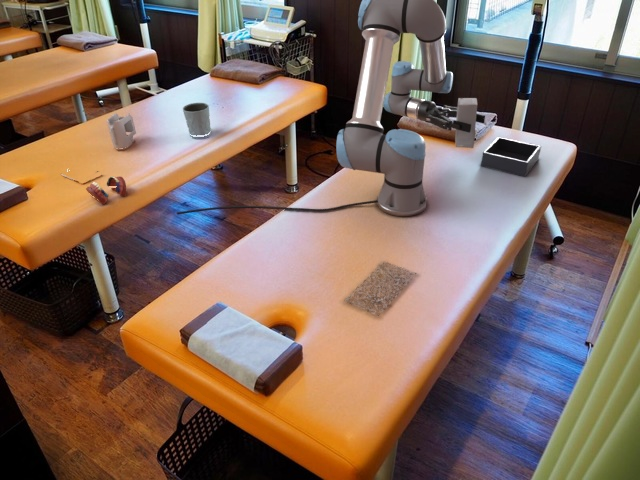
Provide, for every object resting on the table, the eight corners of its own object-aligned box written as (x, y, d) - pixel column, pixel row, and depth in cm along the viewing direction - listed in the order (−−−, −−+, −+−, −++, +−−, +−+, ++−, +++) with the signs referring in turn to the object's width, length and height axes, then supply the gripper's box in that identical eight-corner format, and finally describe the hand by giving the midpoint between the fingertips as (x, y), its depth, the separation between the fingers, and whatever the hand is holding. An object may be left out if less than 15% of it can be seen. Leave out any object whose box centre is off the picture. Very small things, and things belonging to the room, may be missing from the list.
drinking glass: (217, 133, 219) (213, 105, 212) (200, 142, 212) (196, 113, 205) (199, 128, 224) (195, 100, 217) (182, 137, 217) (177, 108, 210)
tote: (524, 176, 182) (528, 162, 179) (480, 166, 189) (482, 152, 186) (538, 159, 192) (541, 146, 189) (495, 150, 200) (498, 136, 196)
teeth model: (126, 176, 175) (92, 190, 168) (131, 193, 179) (97, 207, 172) (114, 169, 180) (80, 182, 174) (119, 186, 184) (86, 199, 177)
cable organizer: (139, 139, 216) (132, 111, 209) (124, 152, 206) (117, 123, 199) (124, 138, 217) (117, 110, 210) (108, 151, 207) (100, 122, 200)
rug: (343, 302, 130) (343, 299, 130) (383, 262, 143) (383, 259, 143) (378, 317, 126) (378, 314, 125) (416, 274, 139) (416, 271, 138)
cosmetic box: (473, 148, 189) (480, 105, 180) (452, 147, 190) (458, 104, 181) (472, 139, 196) (479, 97, 187) (452, 138, 197) (458, 96, 188)
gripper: (436, 111, 207) (490, 124, 195) (404, 128, 193) (460, 144, 181) (438, 92, 203) (493, 104, 190) (406, 108, 189) (463, 123, 177)
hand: (477, 123), depth 186 cm, fingers closed on cosmetic box, 10 cm apart
